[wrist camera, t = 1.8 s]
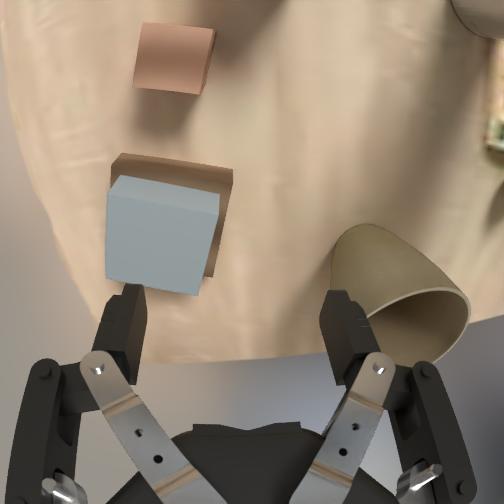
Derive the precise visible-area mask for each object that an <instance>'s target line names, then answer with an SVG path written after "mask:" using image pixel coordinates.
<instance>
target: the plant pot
mask: <svg viewBox="0 0 504 504" xmlns="http://www.w3.org/2000/svg"><path fill="white" fill-rule="evenodd" d="M330 290H346V291H347V293H348V295H349V298H350V300H351V301H356V302H357V303H358V304H359V305H360V306H361V307H362V308H363V309H364V312H365V314H366V316H367V320H368V321H369V323H370V327H371V328H372V330H373V333H374V335H375V338H376V340H377V342H378V345H379V347H380V350H381V352H382V353H384V354H386V355H388V356H389V357H390V358H391V359H392V360H393V362H394V364H396V365H401V366H407V367H413V366H414V364H415V363H417V362H419V361H427V362H430V363H431V364H433V363H435V362H436V361H437V360H438V359H440V358H441V357H442V356H444V355H445V354H446V353H447V352H448V351H449V350H450V349H451V348H452V347H453V346H454V345H455V344H456V343H457V341H458V340H459V339H460V338H461V336H462V334H463V333H464V331H465V329H466V327H467V325H468V323H469V319H470V315H471V306H470V302H469V300H468V298H467V297H466V296H465V295H464V293H463V292H462V291H461V290H460V289H459V288H458V287H457V286H456V285H455V284H454V283H453V282H452V281H451V280H450V279H449V277H448V276H447V275H446V274H445V273H444V272H443V271H442V270H441V269H440V268H438V267H437V266H436V265H435V264H434V263H433V262H432V261H431V260H429V259H428V258H427V257H426V256H425V255H423V254H422V253H421V252H420V251H418V250H417V249H416V248H414V247H413V246H411V245H410V244H408V243H407V242H405V241H404V240H402V239H401V238H399V237H397V236H396V235H394V234H392V233H390V232H388V231H386V230H384V229H382V228H380V227H378V226H375V225H371V224H362V225H358V226H355V227H353V228H351V229H349V230H348V231H346V232H345V233H344V234H343V235H342V236H341V237H340V238H339V240H338V241H337V243H336V246H335V250H334V255H333V261H332V269H331V280H330Z"/></svg>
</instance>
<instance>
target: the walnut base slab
mask: <svg viewBox="0 0 504 504" xmlns="http://www.w3.org/2000/svg"><path fill="white" fill-rule="evenodd" d="M120 175H124V176H130V177H135V178H141V179H146V180H152V181H157V182H162V183H167V184H172V185H177V186H183V187H187V188H192V189H197V190H202V191H207V192H212V193H216V194H220V201H219V216H218V220H217V224H216V227H215V231H214V235H213V239H212V243H211V246H210V250H209V254H208V258H207V262H206V266H205V270H204V274H203V276H206V277H213V273H214V268H215V264H216V259H217V254H218V249H219V244H220V240H221V235H222V230H223V226H224V221H225V216H226V212H227V207H228V203H229V198H230V194H231V189H232V185H233V169H228V168H223V167H217V166H211V165H205V164H198V163H192V162H185V161H179V160H172V159H165V158H157V157H150V156H142V155H134V154H125V153H121V154H120V156H119V157H118V158H117V159H116V160H115V161H114V163H113V164H112V165H111V188H112V186H113V185H114V183H115V182H116V180H117V179H118V177H119V176H120Z"/></svg>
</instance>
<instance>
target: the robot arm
mask: <svg viewBox="0 0 504 504" xmlns="http://www.w3.org/2000/svg"><path fill="white" fill-rule="evenodd" d="M451 1H452V4H453V7H454V9H455V11H456V13H457V15H458V17H459V18H460V20H461V21H462V22H463V24H464V25H465V26H466V27H467V28H468V29H469V30H471V31H472V32H473V33H475V34H477V35H479V36H482V37H487V38H491V39H498V40H503V41H504V0H451ZM319 323H320V328H321V332H322V335H323V339H324V342H325V346H326V349H327V353H328V356H329V360H330V363H331V367H332V370H333V374H334V377H335V381H336V385H337V386H338V385H346V389H347V390H346V392H345V393H344V396H343V398H342V399H341V401H340V403H339V405H338V407H337V409H336V410H335V412H334V414H333V416H332V418H331V420H330V421H329V423H328V425H327V426H326V428H325V430H324V431H323V433H322V434H321V435H320V434H318V433H316V432H314V431H311V430H308V429H304V428H301V425H300V422H287V423H274V424H270V425H267V426H263V427H260V428H256V429H252V430H242V429H237V428H233V427H228V426H224V425H218V424H217V425H216V424H215V425H214V424H193V430H192V431H187V432H184V433H181V434H179V435H177V436H175V437H173V438H171V439H170V438H169V437H168V435H167V434H166V433H165V431H164V430H163V429H162V427H161V426H160V425H159V423H158V422H157V421H156V419H155V418H154V416H153V415H152V414H151V412H150V411H149V409H148V408H147V407H146V405H145V404H144V402H143V401H142V400H141V398H140V397H139V396H138V395H136V394H135V393H134V391H133V390H132V388H131V387H130V385H136V382H137V376H138V370H139V364H140V358H141V352H142V346H143V341H144V336H145V330H146V325H147V306H146V300H145V293H144V287H143V285H142V284H128V283H126V284H125V286H124V289H123V292H122V295H113V296H112V297H111V298H110V300H109V301H108V302H107V303H106V306H105V309H104V312H103V315H102V318H101V322H100V324H99V327H98V331H97V334H96V337H95V341H94V344H93V348H92V351H91V352H90V353H88V354H86V355H85V356H84V357H83V358H82V360H81V361H80V362H78V363H74V364H68V365H62V366H59V364H58V363H57V362H56V361H55V360H52V359H47V358H46V359H41V360H39V361H37V362H36V363H35V364H34V365H33V366H32V368H31V370H30V374H29V377H28V381H27V384H26V388H25V392H24V396H23V399H22V403H21V407H20V412H19V416H18V420H17V425H16V430H15V434H14V440H13V445H12V450H11V457H10V463H9V469H8V476H7V485H6V494H5V504H88V499H87V495H86V492H85V490H84V489H83V488H82V487H81V486H80V485H79V484H77V483H76V482H75V481H74V477H75V464H76V454H77V445H78V436H79V428H80V421H81V414H82V413H83V412H89V411H95V410H101V411H102V413H103V415H104V417H105V418H106V420H107V422H108V423H109V425H110V427H111V429H112V430H113V432H114V433H115V435H116V437H117V438H118V440H119V441H120V443H121V445H122V446H123V448H124V449H125V451H126V452H127V454H128V455H129V457H130V458H131V460H132V461H133V463H134V464H135V466H136V467H137V468H138V470H139V471H138V472H137V473H136V474H135V475H134V476H133V477H132V478H131V479H130V480H129V481H128V482H127V483H126V484H125V485H124V486H123V487H122V488H121V489H120V490H119V491H118V492H117V493H116V494H115V495H114V496H113V497H112V498H111V499H110V500H109V501H108V502H107V503H106V504H469V503H470V502H471V501H472V500H473V499H474V498H475V495H476V492H477V485H476V480H475V477H474V473H473V470H472V466H471V463H470V459H469V456H468V453H467V450H466V446H465V443H464V440H463V437H462V434H461V431H460V428H459V425H458V422H457V419H456V416H455V414H454V411H453V408H452V405H451V403H450V400H449V397H448V394H447V392H446V389H445V387H444V384H443V381H442V379H441V377H440V374H439V372H438V370H437V368H436V367H435V366H434V365H433V364H431V363H430V362H427V361H419V362H417V363H415V364H414V366H413V367H407V366H401V365H396V364H394V362H393V360H392V359H391V358H390V357H389V356H388V355H386V354H384V353H382V352H381V350H380V347H379V345H378V342H377V340H376V338H375V335H374V333H373V330H372V328H371V327H370V323H369V321H368V320H367V316H366V314H365V312H364V309H363V308H362V307H361V306H360V305H359V304H358V303H357V302H356V301H351V300H350V298H349V295H348V293H347V291H346V290H328V292H327V295H326V298H325V301H324V304H323V307H322V310H321V313H320V318H319ZM384 409H385V410H388V413H389V417H390V421H391V425H392V429H393V433H394V437H395V441H396V445H397V449H398V454H399V458H400V462H401V467H402V471H403V474H402V475H401V476H400V477H399V479H398V482H397V489H396V490H397V494H396V496H394V495H393V494H392V493H391V492H390V491H389V490H387V489H386V488H385V487H383V486H382V485H381V484H380V483H379V482H377V481H376V480H375V479H373V478H372V477H371V476H369V474H367V473H366V472H365V471H364V470H362V469H361V468H360V467H359V466H360V464H361V462H362V460H363V458H364V455H365V453H366V451H367V449H368V447H369V445H370V442H371V440H372V437H373V436H374V433H375V431H376V429H377V426H378V424H379V421H380V419H381V416H382V414H383V411H384Z"/></svg>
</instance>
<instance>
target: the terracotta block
mask: <svg viewBox="0 0 504 504" xmlns="http://www.w3.org/2000/svg"><path fill="white" fill-rule="evenodd" d="M215 36H216V31H215V30H213V29H208V28H200V27H192V26H183V25H173V24H160V23H143V26H142V31H141V36H140V41H139V47H138V53H137V59H136V65H135V72H134V79H133V86H132V87H137V88H149V89H159V90H168V91H177V92H184V93H192V94H200V93H201V91H202V89H203V88H204V86H205V82H206V77H207V73H208V68H209V63H210V58H211V54H212V49H213V45H214V41H215Z"/></svg>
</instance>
